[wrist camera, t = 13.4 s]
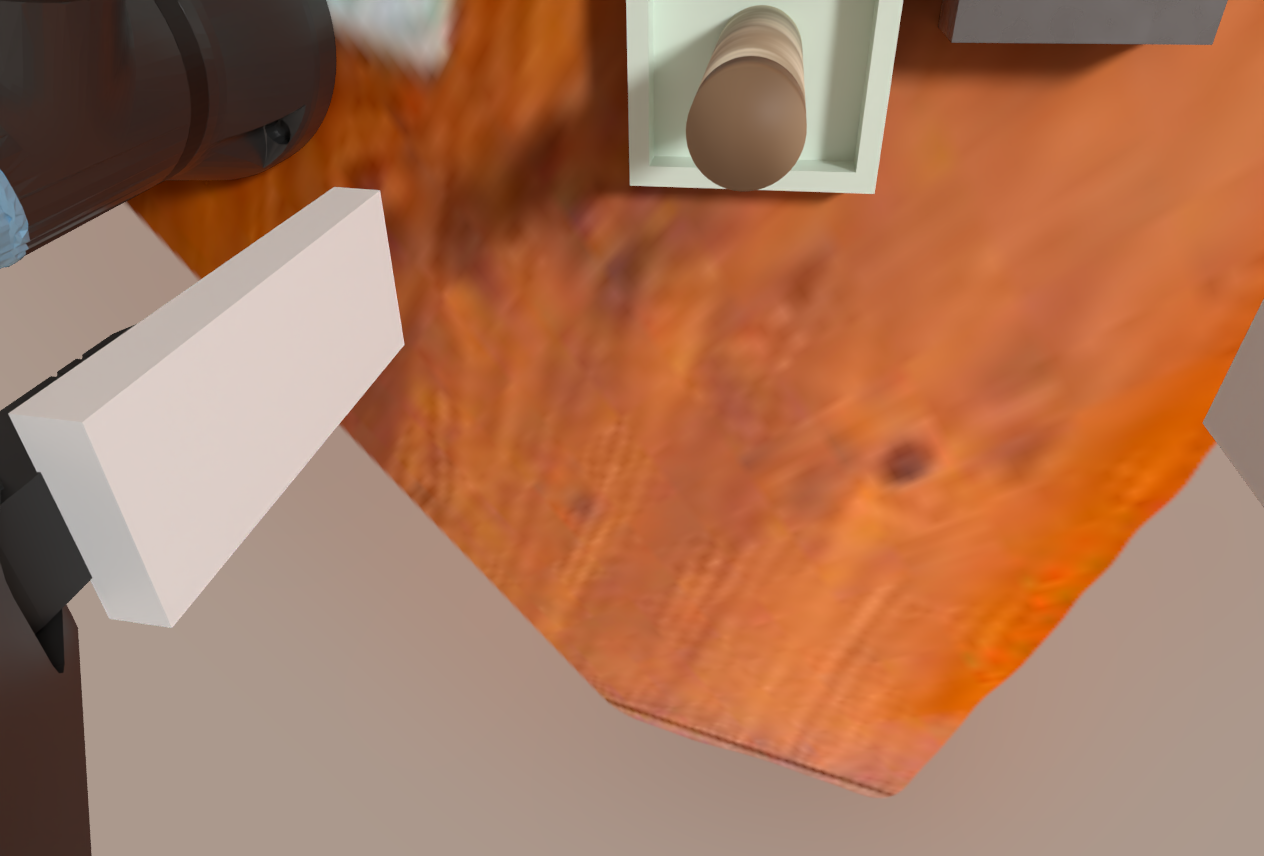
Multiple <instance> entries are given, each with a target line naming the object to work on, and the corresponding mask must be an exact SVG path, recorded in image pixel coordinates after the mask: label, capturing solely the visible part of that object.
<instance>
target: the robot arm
mask: <svg viewBox="0 0 1264 856" xmlns="http://www.w3.org/2000/svg"><path fill="white" fill-rule="evenodd" d="M335 75H336V46H335V37H334V31H333V25H332V20H331V16H330V12H329V8H328V5H327V2H326V0H0V269H1V268H3V267H9V266H11V265H13V264H15V263H16V262H18V261H19V260H21V259H22V258H23V257H24V256H25V255H27V254H29V253H31V252H33V251H35V250H36V249H38V248H40V247H42V246H44V245H45V244H48V243H49V242H51V241H53V240H55V239H57V238H59V237H60V236H62V235H64V234H66V233H68V232H70V231H72V230H74V229H75V228H77V227H79V226H81V225H83V224H85V223H86V222H88V221H90V220H92V219H94V218H96V217H98V216H100V215H101V214H103V213H105V212H107V211H109V210H111V209H113V208H114V207H116V206H118V205H120V204H122V203H124V202H126V201H127V200H129V199H131V198H133V197H135V196H137V195H139V194H140V193H142V192H144V191H146V190H148V189H150V188H152V187H153V186H155V185H157V184H159V183H161V182H163V181H165V180H234V179H239V178H244V177H248V176H252V175H255V174H258V173H260V172H263V171H265V170H267V169H269V168H271V167H273V166H275V165H276V164H278V163H280V162H282V161H283V160H285V159H287V158H288V157H290V156H292V155H293V154H295V153H296V152H297V151H299V150H300V149H301V148H302V147H303V146H304V145H305V144H306V143H307V142H308V141H309V140H310V139H311V138H312V137H313V136H314V134H315V133H316V131H317V130H318V128H319V127H320V125H321V123H322V121H323V119H324V117H325V115H326V113H327V110H328V108H329V105H330V102H331V98H332V94H333V89H334V84H335ZM403 346H404V339H403V333H402V326H401V320H400V314H399V308H398V301H397V295H396V289H395V282H394V276H393V270H392V263H391V257H390V251H389V244H388V238H387V232H386V226H385V219H384V213H383V207H382V200H381V194H380V190H368V189H354V188H341V187H334V188H332V189H331V190H329V191H328V192H326V193H325V194H323V195H322V196H321V197H319V198H318V199H316V200H315V201H313V202H312V203H310V204H309V205H308V206H306V207H305V208H303V209H302V210H300V211H299V212H298V213H296V214H295V215H293V216H292V217H290V218H289V219H287V220H286V221H285V222H283V223H282V224H280V225H279V226H277V227H276V228H274V229H273V230H272V231H270V232H269V233H267V234H266V235H264V236H263V237H262V238H260V239H259V240H257V241H256V242H254V243H253V244H251V245H250V246H249V247H247V248H246V249H244V250H243V251H241V252H240V253H239V254H237V255H236V256H234V257H233V258H231V259H230V260H228V261H227V262H226V263H224V264H223V265H221V266H220V267H218V268H217V269H215V270H214V271H213V272H211V273H210V274H208V275H207V276H205V277H204V278H203V279H201V280H200V281H198V282H197V283H195V284H194V285H193V286H191V287H190V288H188V289H187V290H185V291H184V292H182V293H181V294H179V295H178V296H177V297H175V298H174V299H172V300H171V301H169V302H168V303H167V304H165V305H164V306H162V307H161V308H159V309H158V310H156V311H155V312H154V313H152V314H151V315H149V316H148V317H146V318H145V319H144V320H142V321H141V322H139V323H138V324H136V325H133V326H131V327H128V328H126V329H124V330H121V331H119V332H117V333H114V334H112V335H110V336H109V337H108V338H106V339H105V340H103V341H102V342H100V343H99V344H97V345H96V346H94V347H93V348H92V349H90V350H89V351H87V352H86V353H84V354H83V355H82V356H83V358H82V359H75V360H74V361H73V362H71V363H70V364H68V365H67V366H65V367H64V368H62V369H61V370H59V371H58V372H57V377H52V376H51V377H49V378H48V379H46V380H45V381H43V382H42V383H40V384H39V385H37V386H36V387H35V388H33V389H32V390H30V391H29V392H27V393H26V394H24V395H23V396H22V397H20V398H18V399H17V400H16V401H14V402H13V403H11V404H10V405H8V406H7V407H5V408H4V409H2V410H1V411H0V856H91V843H90V842H91V840H90V824H89V808H88V791H87V773H86V757H85V741H84V723H83V707H82V690H81V674H80V657H79V640H78V627H77V625H76V623H75V621H74V619H73V616H72V614H71V612H70V611H69V609H68V607H67V605H66V604H67V603H68V602H69V601H70V600H71V599H72V598H73V597H74V596H75V595H76V594H77V593H78V592H79V591H80V590H81V589H82V588H83V587H84V586H85V585H86V584H87V583H88V582H89V581H91V583H92V585H93V587H94V589H95V591H96V593H97V595H98V597H99V599H100V601H101V603H102V605H103V607H104V609H105V611H106V613H107V615H108V617H109V618H110V619H115V620H122V621H129V622H135V623H142V624H149V625H155V626H162V627H169V628H172V627H173V626H174V625H175V623H176V622H177V621H178V620H179V619H180V617H181V616H182V615H183V614H184V612H185V611H186V610H187V609H188V608H189V606H190V605H191V604H192V603H193V601H194V600H195V599H196V598H197V597H198V595H199V594H200V593H201V592H202V591H203V589H204V588H205V587H206V586H207V584H208V583H209V582H210V581H211V579H212V578H213V577H214V576H215V574H216V573H217V572H218V571H219V570H220V569H221V567H222V566H223V565H224V564H225V562H226V561H227V560H228V559H229V558H230V556H231V555H232V554H233V553H234V551H235V550H236V549H237V548H238V547H239V545H240V544H241V543H242V542H243V541H244V539H245V538H246V537H247V535H248V534H249V533H250V532H251V531H252V530H253V528H254V527H255V526H256V525H257V523H258V522H259V521H260V520H261V518H262V517H263V516H264V515H265V514H266V512H267V511H268V510H269V509H270V508H271V506H272V505H273V504H274V503H275V502H276V500H277V499H278V498H279V497H280V496H281V494H282V493H283V492H284V490H285V489H286V488H287V487H288V486H289V485H290V483H291V482H292V481H293V479H294V478H295V477H296V476H297V475H298V474H299V472H300V471H301V470H302V469H303V468H304V466H305V465H306V464H307V463H308V461H309V460H310V459H311V457H313V455H314V454H315V453H316V452H317V450H318V449H319V448H320V447H321V446H322V444H323V443H324V442H325V441H326V439H327V438H328V437H329V436H330V435H331V433H332V432H333V431H334V430H335V428H336V427H337V426H338V425H339V424H340V422H341V421H342V420H343V419H344V418H345V416H346V415H347V414H348V413H349V411H350V410H351V409H352V408H353V407H354V405H355V404H356V403H357V402H358V400H359V399H360V398H361V397H362V396H363V394H364V393H365V392H366V391H367V390H368V388H369V387H370V386H371V385H372V383H373V382H374V381H375V380H376V379H377V377H378V376H379V375H380V374H381V372H382V371H383V370H384V369H385V368H386V366H387V365H388V364H389V363H390V362H391V360H392V359H393V358H394V357H395V355H396V354H397V353H398V352H399V351H400V349H401V348H402V347H403ZM1203 424H1204V426H1205V427H1206V428H1207V430H1208V431H1209V432H1210V434H1211V435H1212V437H1213V438H1214V439H1215V441H1216V442H1217V444H1218V445H1219V446H1220V448H1221V449H1222V450H1223V452H1224V453H1225V455H1226V456H1227V457H1228V459H1229V460H1230V461H1231V463H1232V464H1233V466H1234V467H1235V468H1236V469H1237V471H1238V472H1239V474H1240V475H1241V477H1242V478H1243V479H1244V481H1245V482H1246V484H1247V485H1248V486H1249V488H1250V489H1251V490H1252V492H1253V493H1254V494H1255V496H1256V497H1257V499H1258V500H1259V502H1260V503H1261V504H1262V506H1263V507H1264V299H1263V301H1262V303H1261V306H1260V308H1259V310H1258V312H1257V314H1256V316H1255V318H1254V320H1253V322H1252V324H1251V326H1250V328H1249V330H1248V332H1247V334H1246V336H1245V338H1244V340H1243V342H1242V344H1241V346H1240V348H1239V350H1238V352H1237V354H1236V356H1235V358H1234V360H1233V362H1232V364H1231V366H1230V368H1229V371H1228V373H1227V375H1226V377H1225V379H1224V381H1223V383H1222V385H1221V387H1220V389H1219V391H1218V393H1217V395H1216V397H1215V399H1214V401H1213V403H1212V405H1211V407H1210V409H1209V411H1208V413H1207V415H1206V417H1205V419H1204V421H1203Z"/></svg>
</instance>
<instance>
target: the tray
mask: <svg viewBox="0 0 1264 856" xmlns="http://www.w3.org/2000/svg"><path fill="white" fill-rule="evenodd" d="M756 5H768V6H772V7H775V8H778V9H780V10H782V11H783V12H785V13H786V14H787V15H788V16H789V17H790V18H791V19H792V20H793V21H794V23H795V24H796V26H797V28H798V30H799V32H800V35H801V40H802V50H803V68H804V85H805V102H806V120H807V134H806V140H805V144H804V147H803V150H802V153H801V155H800V157H799V159H798V160H797V162H796V164H795V165H794V166H793V168H792V169H791V170H790V171H789V172H788V173H787V174H786V175H785V176H784V177H783V178H781V179H780V180H779V181H777V182H776V183H774V184H772V185H770V186H768V187H765V188H762V189H759V190H775V191H805V192H834V193H864V194H874V193H875V187H876V180H877V173H878V167H879V160H880V153H881V147H882V140H883V133H884V126H885V120H886V113H887V106H888V100H889V93H890V86H891V80H892V73H893V66H894V59H895V53H896V46H897V39H898V33H899V26H900V19H901V13H902V6H903V0H626V20H627V70H628V120H629V170H630V186H656V187H686V188H716V189H726V188H723V187H721V186H719V185H717V184H715V183H713V182H712V181H710V180H709V179H708V178H706V177H705V176H704V175H703V174H702V173H701V172H700V170H699V169H698V168H697V167H696V165H695V163H694V162H693V160H692V158H691V155H690V153H689V150H688V147H687V141H686V122H687V118H688V114H689V111H690V108H691V105H692V103H693V100H694V98H695V96H696V93H697V91H698V88H699V86H700V83H701V81H702V78H703V76H704V73H705V71H706V68H707V66H708V64H709V61H710V59H711V56H712V54H713V51H714V49H715V46H716V44H717V41H718V39H719V37H720V34H721V32H722V30H723V28H724V27H725V25H726V24H727V22H728V21H729V20H730V19H731V18H732V17H733V16H734V15H735V14H737V13H738V12H740V11H742V10H744V9H746V8H748V7H751V6H756Z"/></svg>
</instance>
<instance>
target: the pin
mask: <svg viewBox="0 0 1264 856" xmlns="http://www.w3.org/2000/svg"><path fill="white" fill-rule="evenodd" d="M806 134H807V120H806V102H805V85H804V68H803V50H802V40H801V35H800V32H799V30H798V28H797V26H796V24H795V23H794V21H793V20H792V19H791V18H790V17H789V16H788V15H787V14H786V13H785V12H783V11H782V10H780V9H778V8H775V7H772V6H768V5H756V6H751V7H748V8H746V9H744V10H742V11H740V12H738V13H737V14H735V15H734V16H733V17H732V18H731V19H730V20H729V21H728V22H727V24H726V25H725V27H724V28H723V30H722V32H721V34H720V37H719V39H718V41H717V44H716V46H715V49H714V51H713V54H712V56H711V59H710V61H709V64H708V66H707V68H706V71H705V73H704V76H703V78H702V81H701V83H700V86H699V88H698V91H697V93H696V96H695V98H694V100H693V103H692V105H691V108H690V111H689V114H688V118H687V122H686V141H687V147H688V150H689V153H690V155H691V158H692V160H693V162H694V163H695V165H696V167H697V168H698V169H699V170H700V172H701V173H702V174H703V175H704V176H705V177H706V178H708V179H709V180H710V181H712V182H713V183H715V184H717V185H719V186H721V187H723V188H726V189H730V190H734V191H754V190H759V189H762V188H765V187H768V186H770V185H772V184H774V183H776V182H777V181H779V180H780V179H781V178H783V177H784V176H785V175H786V174H787V173H788V172H789V171H790V170H791V169H792V168H793V166H794V165H795V164H796V162H797V160H798V159H799V157H800V155H801V153H802V150H803V147H804V144H805V140H806Z"/></svg>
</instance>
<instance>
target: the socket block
mask: <svg viewBox="0 0 1264 856" xmlns="http://www.w3.org/2000/svg"><path fill="white" fill-rule="evenodd" d="M1227 1H1228V0H942V6H941V12H940V18H939V24H938V28H939V29H940V30H941V31H942V32H943V33H944V35H945V36H946V37H947V38H948V39H949V40H950V41H951V43H1065V44H1185V45H1212V44H1213V41H1214V38H1215V35H1216V32H1217V29H1218V27H1219V24H1220V21H1221V18H1222V15H1223V12H1224V9H1225V6H1226V4H1227Z"/></svg>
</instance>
